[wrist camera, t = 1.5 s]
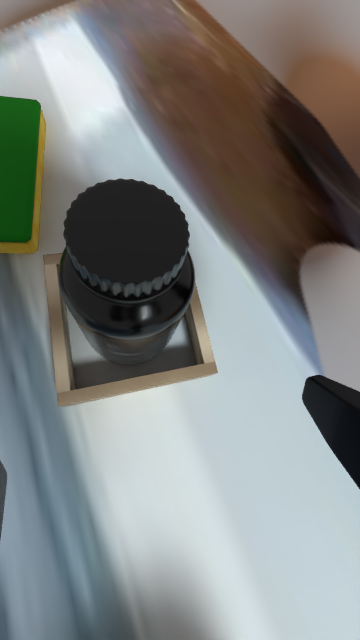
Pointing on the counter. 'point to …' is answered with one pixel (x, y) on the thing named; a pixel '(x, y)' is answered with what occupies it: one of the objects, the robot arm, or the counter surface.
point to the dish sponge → (20, 173)
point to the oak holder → (75, 396)
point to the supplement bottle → (126, 268)
